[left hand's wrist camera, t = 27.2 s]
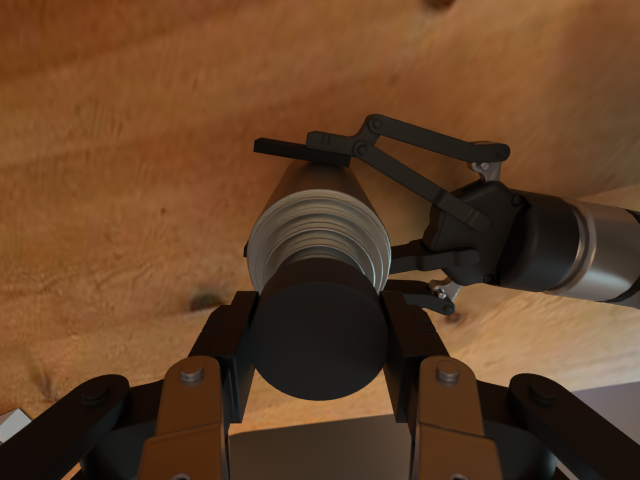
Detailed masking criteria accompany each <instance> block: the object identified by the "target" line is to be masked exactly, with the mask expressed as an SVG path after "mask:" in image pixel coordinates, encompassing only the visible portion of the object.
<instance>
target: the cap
mask: <svg viewBox="0 0 640 480" xmlns="http://www.w3.org/2000/svg"><path fill="white" fill-rule="evenodd" d="M388 331H389V329H388V325H387V321H386V318H385V315H384V312H383V309H382V306H381V303H380V299H379V296H378V294H377V291H376V289H375V287H374V286H373V284H372V283H371V281H370V280H369V279H368V278H367V277H366V276H365V275H364V274H363V273H362V272H361V271H360V270H358V269H357V268H355V267H354V266H352V265H350V264H348V263H345V262H343V261H340V260H336V259H333V258H324V257H312V258H306V259H302V260H298V261H295V262H293V263H290V264H288V265H286V266H285V267H283V268H281V269H280V270H279V271H277V272H276V273H275V274H274V275H273V276H272V277H271V278H270V279H269V280H268V282H267V283H266V284H265V286H264V288H263V290H262V292H261V295H260V297H259V300H258V303H257V306H256V309H255V312H254V315H253V318H252V322H251V324H250V343H251V355H252V362H253V364H254V366H255V368H256V369H257V371H258V372H259V373H260V375H261V376H262V377H263V378H264V379H265V380H266V381H267V382H268V383H269V384H270V385H272V386H273V387H274V388H276V389H278V390H279V391H281V392H283V393H285V394H288V395H290V396H293V397H296V398H300V399H305V400H314V401H325V400H333V399H338V398H342V397H345V396H348V395H351V394H353V393H355V392H357V391H359V390H360V389H362V388H364V387H365V386H366V385H368V384H369V383H370V382H371V381H372V380H373V379H374V378H375V377H376V376H377V375H378V374H379V372H380V371H381V370H382V368H383V366H384V364H385V362H386V357H387V344H388Z"/></svg>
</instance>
